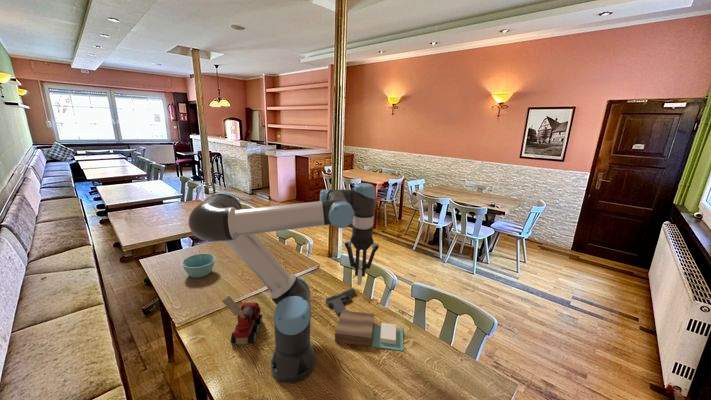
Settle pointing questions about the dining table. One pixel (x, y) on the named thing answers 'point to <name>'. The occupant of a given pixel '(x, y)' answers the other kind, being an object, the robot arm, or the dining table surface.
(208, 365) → the dining table surface
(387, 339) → the white rectangular block
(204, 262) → the bowl
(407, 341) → the dining table surface
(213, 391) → the dining table surface
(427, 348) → the dining table surface
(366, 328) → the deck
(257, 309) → the toy fire truck
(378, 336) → the mat
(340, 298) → the handgun
